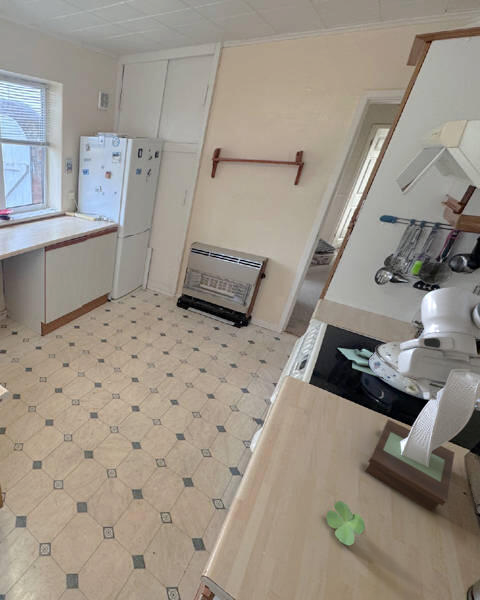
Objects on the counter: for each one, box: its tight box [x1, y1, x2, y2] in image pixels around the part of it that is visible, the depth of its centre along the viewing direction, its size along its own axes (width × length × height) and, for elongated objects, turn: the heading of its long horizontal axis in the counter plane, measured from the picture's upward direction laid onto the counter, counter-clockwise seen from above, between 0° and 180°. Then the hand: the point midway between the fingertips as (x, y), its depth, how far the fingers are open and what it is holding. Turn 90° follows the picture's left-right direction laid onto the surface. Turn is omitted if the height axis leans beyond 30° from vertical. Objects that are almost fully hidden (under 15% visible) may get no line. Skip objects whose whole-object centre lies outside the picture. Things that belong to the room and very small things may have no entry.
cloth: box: [337, 347, 378, 377], centre depth 130 cm, size 20×22×2 cm
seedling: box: [326, 500, 366, 546], centre depth 71 cm, size 7×8×7 cm
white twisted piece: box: [400, 369, 480, 467], centre depth 78 cm, size 8×8×28 cm
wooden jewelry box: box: [364, 419, 455, 512], centre depth 86 cm, size 22×14×5 cm, turn 129°
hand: (454, 404), depth 77 cm, fingers open, 8 cm apart
